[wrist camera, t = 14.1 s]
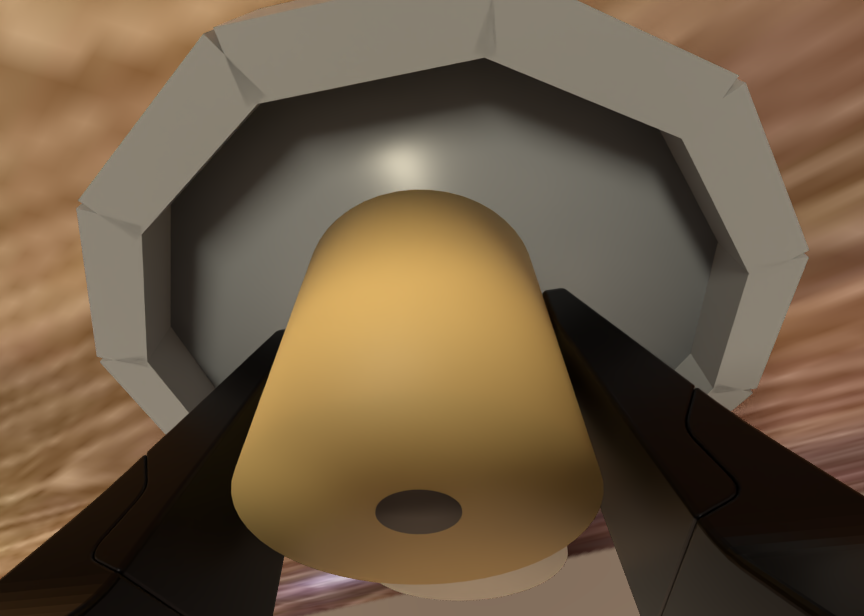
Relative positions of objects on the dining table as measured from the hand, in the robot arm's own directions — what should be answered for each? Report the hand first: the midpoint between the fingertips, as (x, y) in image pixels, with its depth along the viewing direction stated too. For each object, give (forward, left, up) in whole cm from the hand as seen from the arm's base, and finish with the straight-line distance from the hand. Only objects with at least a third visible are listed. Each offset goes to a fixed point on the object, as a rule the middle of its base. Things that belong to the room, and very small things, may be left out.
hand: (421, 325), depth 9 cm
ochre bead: (0, 0, -1) cm, 1 cm away
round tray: (0, +3, -4) cm, 5 cm away
